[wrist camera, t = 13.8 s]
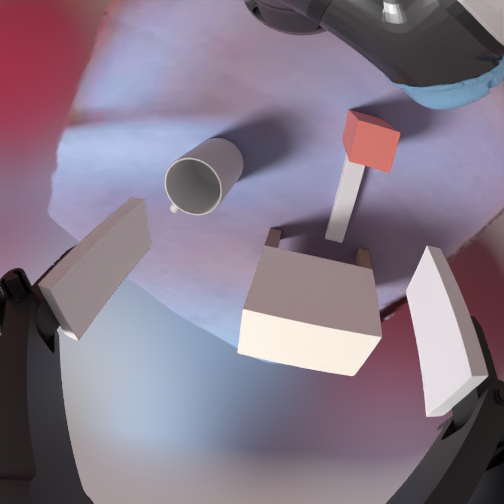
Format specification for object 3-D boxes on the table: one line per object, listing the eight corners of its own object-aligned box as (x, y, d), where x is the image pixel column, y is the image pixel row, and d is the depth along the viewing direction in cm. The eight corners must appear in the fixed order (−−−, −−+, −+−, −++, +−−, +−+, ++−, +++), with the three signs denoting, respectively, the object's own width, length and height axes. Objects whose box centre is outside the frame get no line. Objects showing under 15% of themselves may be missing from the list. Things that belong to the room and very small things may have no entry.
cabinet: (270, 228, 50) (242, 308, 34) (375, 251, 47) (390, 338, 32) (263, 271, 56) (237, 353, 40) (357, 292, 53) (361, 377, 38)
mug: (216, 126, 41) (186, 143, 33) (255, 163, 44) (236, 189, 35) (174, 175, 48) (142, 202, 39) (209, 207, 50) (184, 240, 41)
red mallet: (348, 109, 35) (358, 120, 27) (381, 118, 35) (400, 132, 26) (319, 233, 48) (317, 273, 39) (347, 239, 48) (350, 280, 39)
